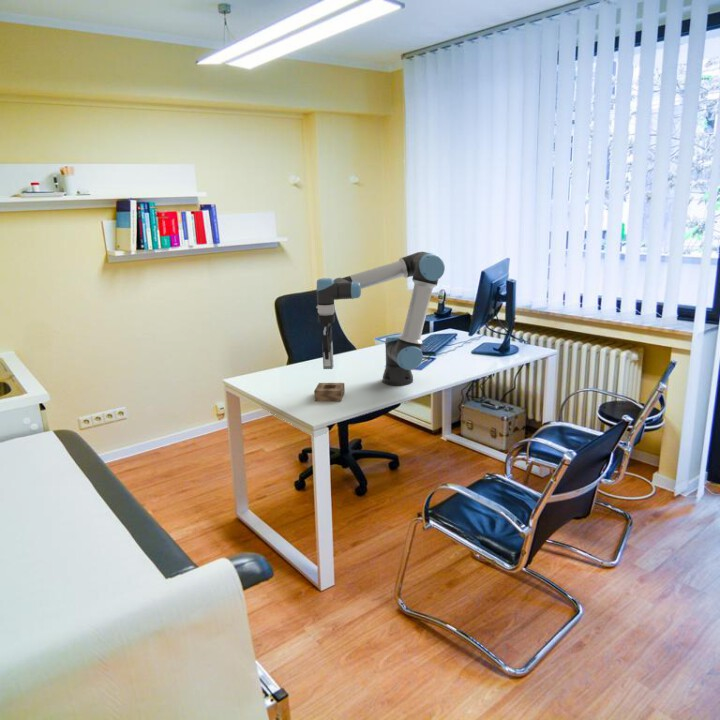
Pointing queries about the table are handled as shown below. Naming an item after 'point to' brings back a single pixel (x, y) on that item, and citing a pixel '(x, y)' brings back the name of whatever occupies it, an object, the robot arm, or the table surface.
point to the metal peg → (330, 356)
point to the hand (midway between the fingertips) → (328, 364)
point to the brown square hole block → (329, 392)
